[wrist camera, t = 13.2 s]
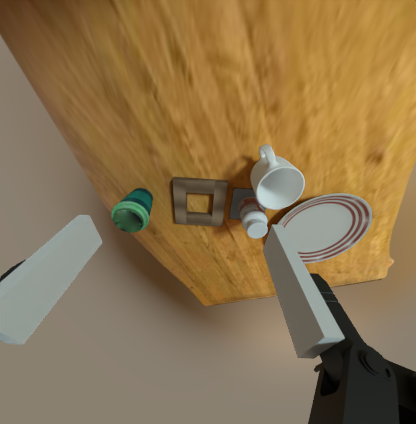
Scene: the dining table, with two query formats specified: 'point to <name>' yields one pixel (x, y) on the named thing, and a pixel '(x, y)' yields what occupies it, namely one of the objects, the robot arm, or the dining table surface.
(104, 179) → the dining table surface
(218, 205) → the collar
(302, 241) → the dinner plate
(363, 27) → the dining table surface
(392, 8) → the dining table surface
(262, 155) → the mug
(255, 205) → the pill bottle
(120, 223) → the cup
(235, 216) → the coaster
